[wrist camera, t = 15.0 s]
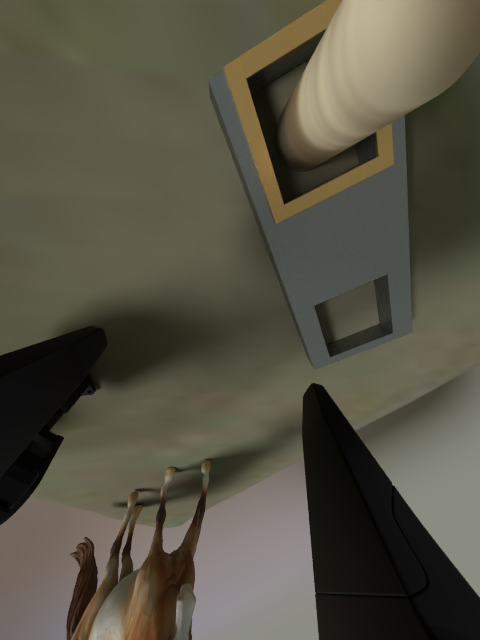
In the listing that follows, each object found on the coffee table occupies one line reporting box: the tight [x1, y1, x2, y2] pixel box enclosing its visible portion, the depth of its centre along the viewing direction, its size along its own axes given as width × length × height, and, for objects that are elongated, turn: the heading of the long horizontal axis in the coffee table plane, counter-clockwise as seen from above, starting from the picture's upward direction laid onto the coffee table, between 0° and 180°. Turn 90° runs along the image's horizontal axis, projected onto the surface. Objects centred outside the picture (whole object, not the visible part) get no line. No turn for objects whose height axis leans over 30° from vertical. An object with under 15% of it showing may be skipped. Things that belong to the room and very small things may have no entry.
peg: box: [276, 0, 480, 172], centre depth 10 cm, size 4×4×10 cm
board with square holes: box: [208, 0, 413, 370], centre depth 17 cm, size 25×11×2 cm, turn 25°
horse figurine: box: [67, 460, 211, 640], centre depth 26 cm, size 31×8×21 cm, turn 131°
